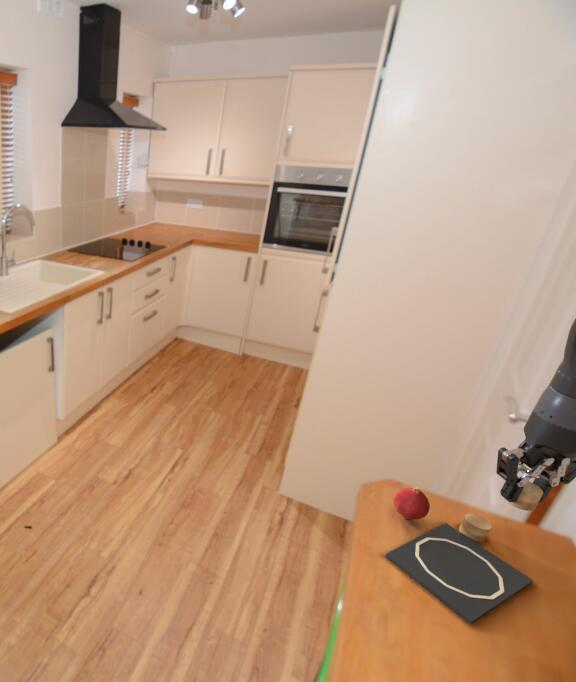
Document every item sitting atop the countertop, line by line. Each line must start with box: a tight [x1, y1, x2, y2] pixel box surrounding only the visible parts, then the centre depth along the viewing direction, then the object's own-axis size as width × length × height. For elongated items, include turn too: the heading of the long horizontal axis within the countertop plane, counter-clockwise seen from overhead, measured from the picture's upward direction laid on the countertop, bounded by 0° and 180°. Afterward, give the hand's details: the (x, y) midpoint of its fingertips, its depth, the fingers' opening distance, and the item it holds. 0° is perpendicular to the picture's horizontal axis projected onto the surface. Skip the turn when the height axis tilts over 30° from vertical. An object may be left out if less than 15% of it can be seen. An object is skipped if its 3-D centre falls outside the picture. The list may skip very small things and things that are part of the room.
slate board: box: [385, 522, 534, 625], centre depth 82 cm, size 14×18×1 cm
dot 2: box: [503, 480, 543, 512], centre depth 78 cm, size 4×4×4 cm
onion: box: [392, 487, 431, 521], centre depth 92 cm, size 6×6×8 cm
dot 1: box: [458, 513, 493, 544], centre depth 89 cm, size 4×4×4 cm
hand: (520, 498), depth 79 cm, fingers closed on dot 2, 4 cm apart
